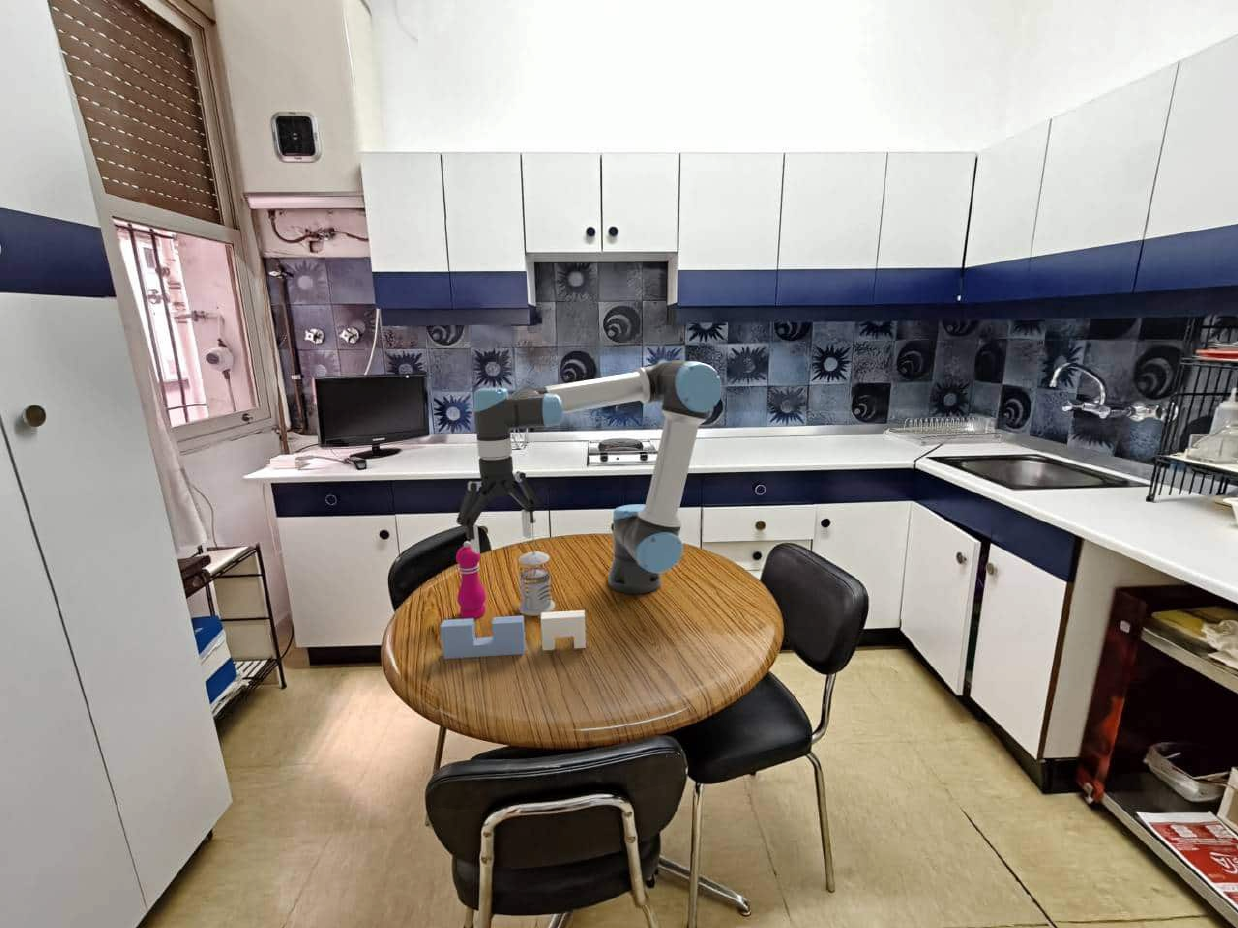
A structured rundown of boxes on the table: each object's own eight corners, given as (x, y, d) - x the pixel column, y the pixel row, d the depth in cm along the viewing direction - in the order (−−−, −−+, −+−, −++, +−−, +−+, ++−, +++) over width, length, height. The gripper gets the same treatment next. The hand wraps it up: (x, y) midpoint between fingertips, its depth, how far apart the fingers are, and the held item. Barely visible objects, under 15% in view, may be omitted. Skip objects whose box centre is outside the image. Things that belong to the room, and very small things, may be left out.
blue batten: (525, 646, 127) (523, 615, 125) (524, 653, 124) (522, 622, 122) (446, 651, 125) (443, 619, 123) (443, 658, 122) (440, 626, 120)
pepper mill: (479, 621, 138) (473, 547, 134) (453, 618, 140) (446, 545, 135) (491, 607, 145) (486, 536, 140) (466, 605, 146) (460, 535, 142)
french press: (562, 601, 148) (558, 514, 142) (538, 621, 137) (533, 528, 132) (531, 595, 152) (526, 509, 146) (506, 614, 142) (500, 523, 136)
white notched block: (585, 640, 129) (584, 609, 127) (586, 647, 126) (585, 616, 124) (543, 643, 128) (541, 612, 126) (542, 650, 125) (540, 618, 123)
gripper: (534, 445, 134) (539, 527, 139) (435, 463, 119) (445, 553, 124) (550, 450, 129) (555, 534, 134) (449, 468, 113) (459, 563, 118)
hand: (502, 544), depth 129 cm, fingers open, 13 cm apart
